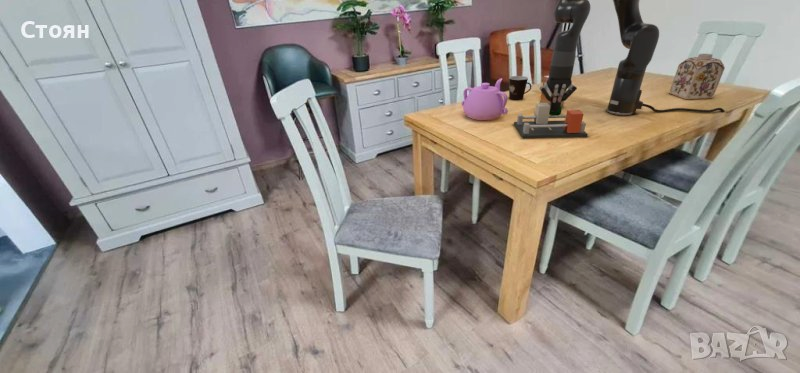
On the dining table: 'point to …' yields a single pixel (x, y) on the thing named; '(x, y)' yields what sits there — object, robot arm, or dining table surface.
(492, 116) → the teapot
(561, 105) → the soda can
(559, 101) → the robot arm
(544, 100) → the small box
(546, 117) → the ivory marker
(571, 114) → the terracotta marker
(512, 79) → the coffee mug
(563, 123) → the score rack
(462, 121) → the dining table surface
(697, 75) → the decorative jar
